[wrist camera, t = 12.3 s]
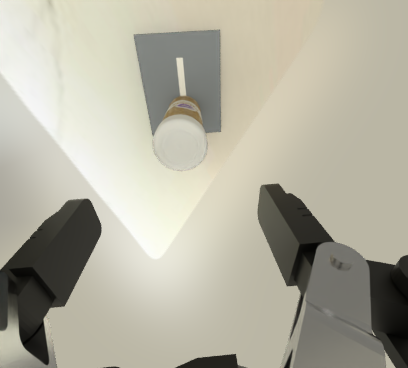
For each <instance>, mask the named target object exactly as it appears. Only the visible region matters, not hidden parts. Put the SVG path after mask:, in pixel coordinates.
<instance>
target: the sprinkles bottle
mask: <svg viewBox="0 0 408 368" xmlns="http://www.w3.org/2000/svg"><path fill="white" fill-rule="evenodd" d="M202 123H203V122H202V117H201V110H200V107H199V105H198V103H197V102H196V101H195V100H194V99H193V98H191V97H189V96H179V97H177V98H175V99H174V100H173V101H172V102H171V103H170V105H169V108H168V110H167V112H166V114H165V116H164V118H163V120H162V122H161V123H160V124H159V126H158V127H157V129H156V131H155V134H154V137H153V150H154V153H155V155H156V157H157V159H158V160H159V161H160V162H161V163H162V164H163V165H164V166H166V167H168V168H170V169H173V170H176V171H185V170H190V169H192V168H194V167H196V166H197V165H199V164H200V163H201V162H202V160H203V159H204V157H205V155H206V152H207V137H206V132H205V130H204V128H203V125H202Z"/></svg>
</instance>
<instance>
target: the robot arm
mask: <svg viewBox="0 0 408 368" xmlns="http://www.w3.org/2000/svg"><path fill="white" fill-rule="evenodd" d="M258 220H259V223H260V225H261V228H262V230H263V232H264V235H265V237H266V239H267V242H268V243H269V246H270V248H271V251H272V253H273V255H274V257H275V260H276V262H277V264H278V266H279V269H280V271H281V273H282V276H283V278H284V280H285V283H286V285H287V286H296V285H297V286H298V288H299V290H300V292H301V293H300V296H299V300H298V304H297V308H296V312H295V316H294V320H293V323H292V327H291V332H290V335H289V339H288V344H287V347H286V350H285V353H284V356H283V360H282V363H281V367H280V368H386V361H385V352H384V350H385V351H386V353H387V354H388V356H389V358H390V359H391V361H392V363H393V364H394V366H395V367H396V368H408V255H406V256H403V257H401V258H400V260H399V261H398V262H397V264H396V265H392V264H386V263H381V262H374V261H369V260H365V259H364V258H363V257H362V256H361V255H360V254H359V253H358V252H357V251H355V250H354V249H352V248H350V247H348V246H346V245H343V244H340V243H336V242H334V241H333V239H332V238H331V237H330V236H329V234H328V233H327V232H326V230H324V228H323V227H322V225H321V224H320V223H319V222H318V221H317V219H316V218H315V217H314V216H312V213H311V212H310V211H309V209H307V207H306V206H305V204H304V203H303V202H302V201H301V200H300V199H299V198H297V197H296V196H294V195H293V194H291V193H289V194H286V193H285V191H284V190H283V189H282V187H281V186H280V185H279V184H268V185H262V186H261V188H260V195H259V204H258ZM100 235H101V223H100V221H99V218H98V216H97V214H96V212H95V210H94V207H93V205H92V203H91V201H90V200H89V199H76V200H68V201H67V202H66V203H65V204H64V206H63V207H62V208H61V209H60V210H59V211H58V212H56V213H55V214H54V215H52V216H51V217H49V218H48V219H47V220H45V221H44V222H43V223H42V225H41V226H40V227H39V228H38V229H37V231H35V232H34V233H33V234H32V236H31V237H30V239H28V240H27V241H26V242H25V243H24V244H23V246H22V247H21V248H20V249H19V250H18V251H17V252H16V253H15V254H14V256H13V257H12V258H11V259H10V260H9V261H8V262H7V263H6V265H4V267H3V268H2V269H1V270H0V368H57V364H56V358H55V352H54V346H53V341H52V335H51V329H50V323H49V318H48V317H47V316H46V314H47V312H48V311H49V309H50V308H53V307H62V306H65V304H66V302H67V300H68V299H69V296H70V295H71V293H72V291H73V289H74V287H75V284H76V283H77V281H78V279H79V277H80V275H81V273H82V271H83V269H84V267H85V265H86V263H87V261H88V259H89V257H90V255H91V253H92V251H93V249H94V247H95V245H96V243H97V241H98V239H99V237H100ZM372 330H373V332H374V334H375V335H376V336H374V335H373V334H372ZM106 368H119V367H106ZM176 368H246V367H243V366H239V365H237V358H236V354H231V355H222V356H212V357H203V358H196V359H194V360H191V361H190V362H187V363H185V364H183V365H180V366H178V367H176Z"/></svg>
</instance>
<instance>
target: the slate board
mask: <svg viewBox="0 0 408 368" xmlns="http://www.w3.org/2000/svg"><path fill="white" fill-rule="evenodd" d="M134 40H135V45H136V50H137V56H138V61H139V66H140V71H141V77H142V82H143V87H144V92H145V97H146V103H147V108H148V113H149V118H150V124H151V129H152V134H153V136H154V134H155V131H156V129H157V127H158V126H159V124H160V123H161V122H162V120H163V118H164V116H165V114H166V112H167V110H168V108H169V105H170V103H171V102H172V101H173V100H174V99H175V98H177V97H179V96H189V97H191V98H193V99H194V100H195V101H196V102H197V103H198V105H199V107H200V110H201V117H202V122H203V123H202V125H203V128H204V130H205V132H206V133H209V132H221V106H220V30H207V31H189V32H172V33H154V34H137V35H134Z"/></svg>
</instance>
